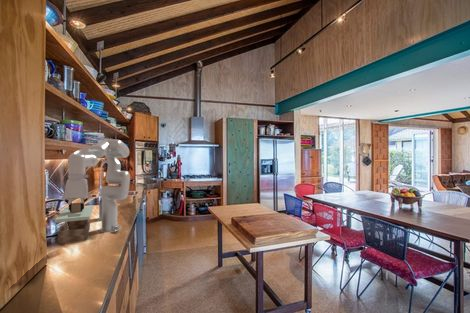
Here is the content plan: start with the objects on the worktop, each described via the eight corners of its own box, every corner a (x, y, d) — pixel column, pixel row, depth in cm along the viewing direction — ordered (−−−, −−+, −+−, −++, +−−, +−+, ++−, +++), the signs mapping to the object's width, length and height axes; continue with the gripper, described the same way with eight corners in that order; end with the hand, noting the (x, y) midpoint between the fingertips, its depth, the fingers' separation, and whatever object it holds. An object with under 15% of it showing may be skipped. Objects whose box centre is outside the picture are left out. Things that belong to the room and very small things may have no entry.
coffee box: (100, 217, 195) (101, 198, 195) (109, 217, 197) (109, 198, 197) (98, 220, 187) (99, 200, 187) (107, 219, 189) (108, 200, 189)
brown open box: (89, 229, 165) (90, 218, 165) (86, 241, 142) (86, 228, 142) (65, 232, 158) (66, 220, 158) (57, 245, 135) (57, 231, 135)
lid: (93, 208, 139) (93, 198, 139) (89, 219, 116) (89, 207, 116) (64, 210, 132) (65, 200, 132) (54, 222, 109) (54, 210, 109)
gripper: (95, 176, 132) (95, 208, 132) (59, 176, 124) (58, 211, 124) (94, 177, 125) (94, 211, 125) (56, 178, 117) (55, 214, 117)
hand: (76, 210), depth 125 cm, fingers closed on lid, 4 cm apart
